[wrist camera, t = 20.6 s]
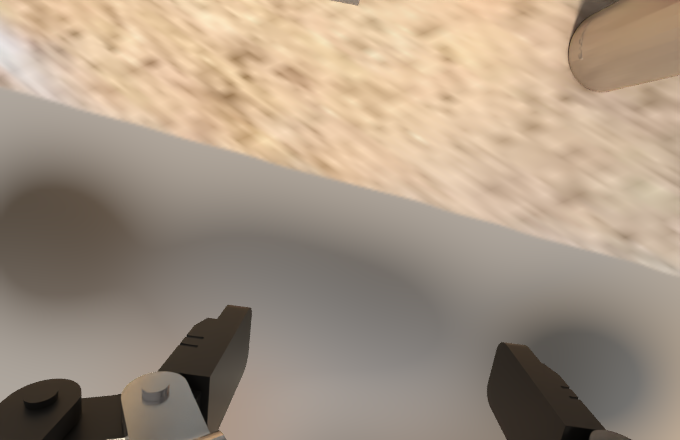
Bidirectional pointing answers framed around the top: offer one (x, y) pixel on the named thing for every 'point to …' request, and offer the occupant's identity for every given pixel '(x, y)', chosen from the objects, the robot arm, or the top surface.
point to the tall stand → (348, 1)
